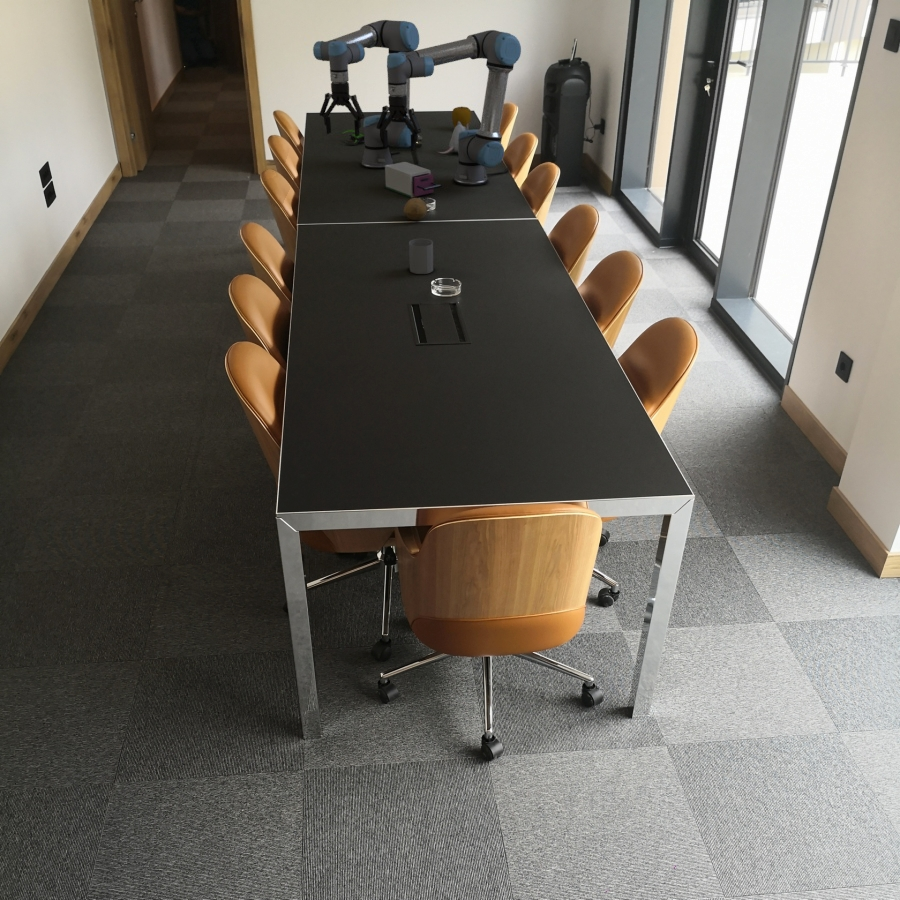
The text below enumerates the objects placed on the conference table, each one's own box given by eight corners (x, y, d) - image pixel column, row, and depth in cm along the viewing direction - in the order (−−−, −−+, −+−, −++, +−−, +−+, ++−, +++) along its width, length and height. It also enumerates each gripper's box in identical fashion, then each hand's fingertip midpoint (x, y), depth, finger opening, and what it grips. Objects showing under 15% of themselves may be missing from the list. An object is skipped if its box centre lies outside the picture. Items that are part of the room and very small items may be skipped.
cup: (409, 265, 311) (408, 238, 306) (432, 265, 312) (431, 238, 307) (410, 274, 304) (409, 246, 299) (433, 273, 305) (433, 246, 299)
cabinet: (430, 192, 388) (430, 170, 383) (410, 197, 382) (410, 174, 377) (405, 183, 400) (405, 161, 395) (385, 188, 394) (384, 165, 389)
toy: (474, 152, 449) (475, 122, 441) (443, 160, 434) (443, 129, 426) (462, 149, 454) (462, 119, 446) (430, 157, 439) (430, 126, 431)
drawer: (441, 195, 382) (441, 177, 377) (423, 199, 376) (423, 181, 372) (409, 183, 397) (409, 166, 393) (392, 187, 391) (391, 169, 387)
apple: (471, 132, 486) (471, 108, 479) (451, 132, 486) (451, 108, 479) (470, 128, 495) (471, 104, 488) (452, 128, 495) (452, 104, 488)
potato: (426, 213, 362) (426, 194, 358) (428, 224, 351) (428, 204, 346) (403, 213, 362) (402, 194, 358) (404, 224, 350) (403, 205, 346)
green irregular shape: (396, 126, 467) (340, 124, 465) (396, 141, 460) (339, 139, 458) (396, 136, 472) (341, 134, 470) (396, 151, 465) (340, 149, 463)
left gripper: (309, 81, 365) (313, 134, 376) (362, 85, 358) (365, 138, 369) (317, 78, 371) (321, 130, 382) (370, 82, 363) (372, 134, 375)
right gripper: (366, 94, 356) (369, 147, 367) (419, 99, 346) (421, 153, 357) (376, 90, 361) (378, 143, 373) (428, 96, 351) (429, 149, 363)
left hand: (343, 134), depth 376 cm, fingers open, 13 cm apart
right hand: (399, 148), depth 365 cm, fingers open, 13 cm apart
